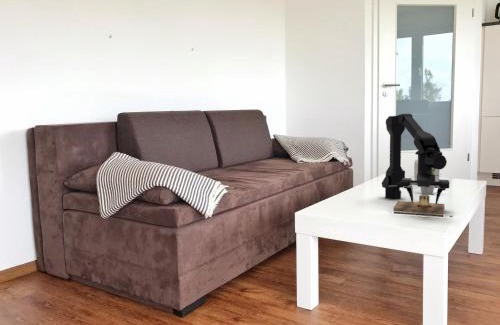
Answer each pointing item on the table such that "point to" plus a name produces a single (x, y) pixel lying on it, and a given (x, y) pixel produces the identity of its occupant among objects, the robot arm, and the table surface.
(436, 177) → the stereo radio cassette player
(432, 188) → the house plant
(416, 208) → the walnut board
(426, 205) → the brass peg
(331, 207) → the table surface
